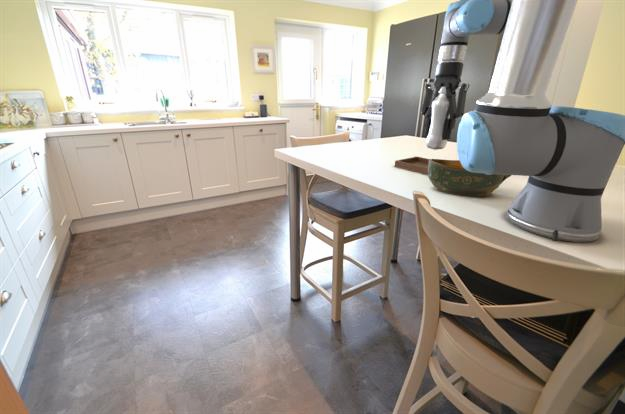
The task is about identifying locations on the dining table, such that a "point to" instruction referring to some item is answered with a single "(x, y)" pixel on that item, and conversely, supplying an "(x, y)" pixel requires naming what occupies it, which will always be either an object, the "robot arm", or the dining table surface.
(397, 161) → the tray
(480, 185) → the green patterned bowl
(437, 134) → the plastic bottle
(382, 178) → the dining table surface
